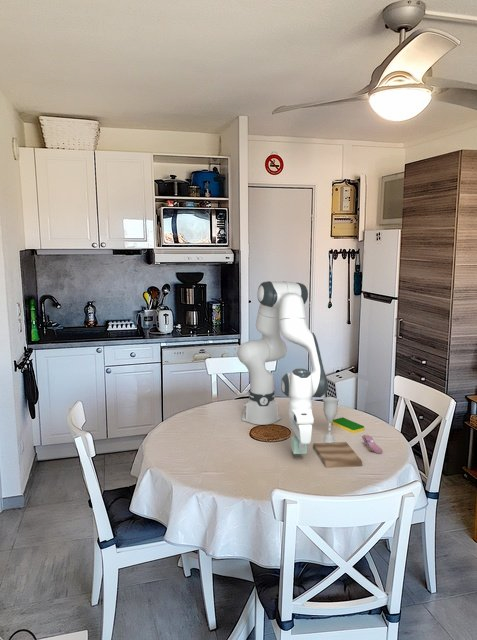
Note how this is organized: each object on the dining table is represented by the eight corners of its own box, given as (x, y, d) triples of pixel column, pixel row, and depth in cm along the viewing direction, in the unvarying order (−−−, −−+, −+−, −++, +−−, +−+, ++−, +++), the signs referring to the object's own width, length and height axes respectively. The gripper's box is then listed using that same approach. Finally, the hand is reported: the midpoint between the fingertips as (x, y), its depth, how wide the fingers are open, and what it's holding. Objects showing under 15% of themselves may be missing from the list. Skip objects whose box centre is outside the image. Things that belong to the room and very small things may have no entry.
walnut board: (313, 447, 198) (313, 443, 198) (346, 446, 199) (346, 441, 199) (325, 467, 180) (326, 462, 180) (361, 466, 182) (362, 461, 181)
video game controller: (364, 448, 202) (358, 434, 200) (374, 443, 202) (368, 429, 201) (373, 458, 192) (366, 443, 191) (383, 453, 192) (377, 438, 191)
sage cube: (291, 448, 189) (291, 436, 188) (303, 448, 190) (304, 436, 189) (293, 454, 184) (294, 441, 183) (306, 453, 185) (307, 441, 184)
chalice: (337, 444, 202) (339, 403, 199) (320, 442, 203) (322, 401, 200) (337, 437, 209) (338, 397, 206) (321, 436, 210) (322, 396, 207)
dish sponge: (342, 421, 229) (342, 417, 228) (364, 431, 217) (364, 426, 217) (331, 424, 225) (331, 419, 224) (353, 434, 213) (353, 429, 213)
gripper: (286, 402, 194) (285, 435, 196) (298, 421, 174) (296, 457, 176) (301, 402, 195) (300, 434, 197) (315, 421, 175) (313, 456, 177)
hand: (299, 445), depth 187 cm, fingers closed on sage cube, 5 cm apart
